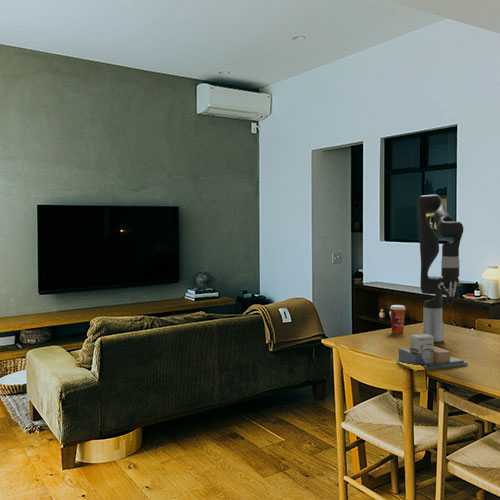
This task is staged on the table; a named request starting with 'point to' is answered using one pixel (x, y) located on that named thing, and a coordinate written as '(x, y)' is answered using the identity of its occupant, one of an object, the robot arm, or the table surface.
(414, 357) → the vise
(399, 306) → the coffee cup
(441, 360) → the pink rectangular block
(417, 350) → the ink box
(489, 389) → the table surface
